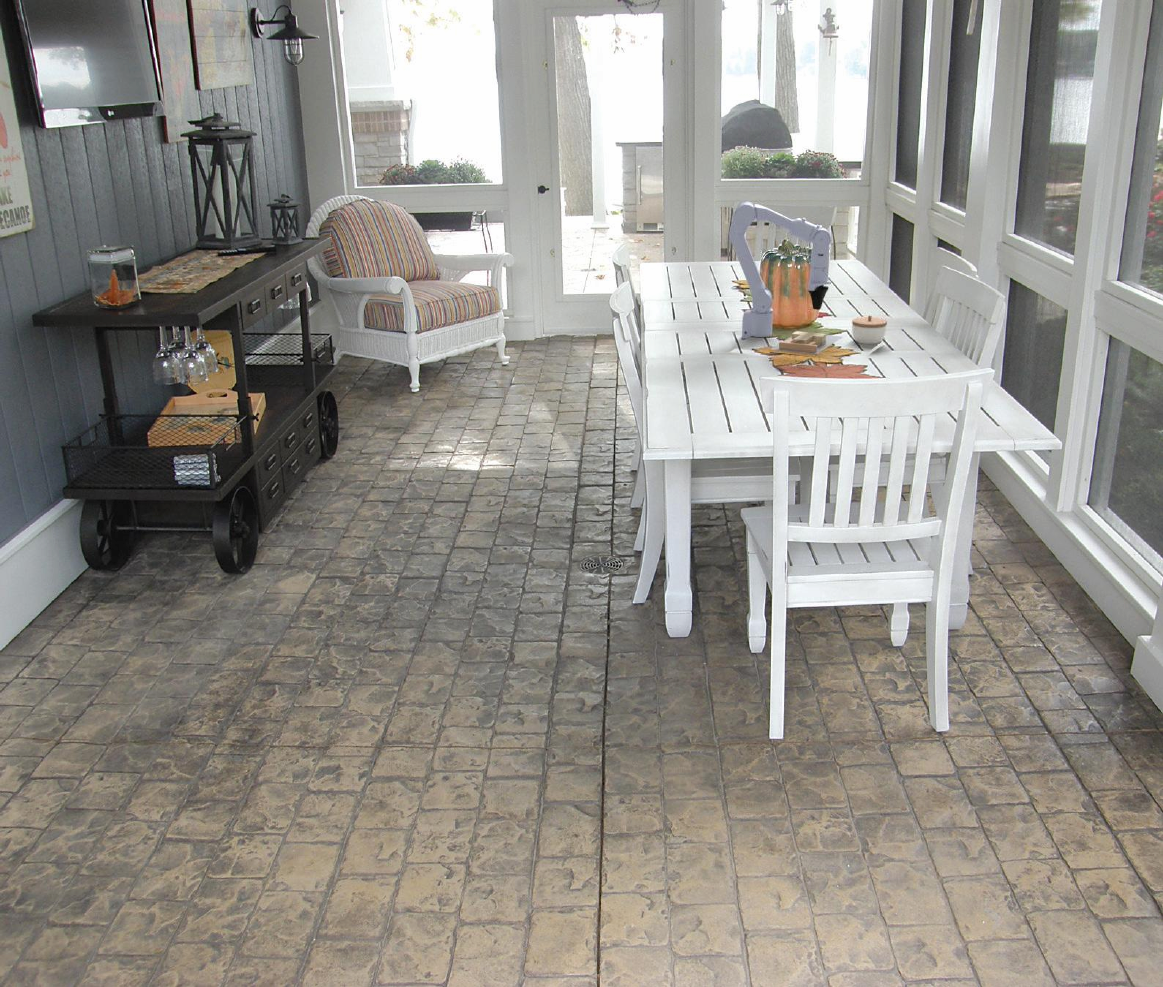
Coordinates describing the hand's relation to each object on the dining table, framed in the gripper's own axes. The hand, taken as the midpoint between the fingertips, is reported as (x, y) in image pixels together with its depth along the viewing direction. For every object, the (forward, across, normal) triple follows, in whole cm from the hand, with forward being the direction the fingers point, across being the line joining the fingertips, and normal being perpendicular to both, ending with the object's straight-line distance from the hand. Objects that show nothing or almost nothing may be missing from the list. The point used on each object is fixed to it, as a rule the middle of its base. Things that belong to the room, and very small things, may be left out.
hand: (816, 309), depth 360 cm
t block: (+9, -15, -2) cm, 17 cm away
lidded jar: (+10, 0, -18) cm, 20 cm away
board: (+10, -11, -1) cm, 15 cm away
